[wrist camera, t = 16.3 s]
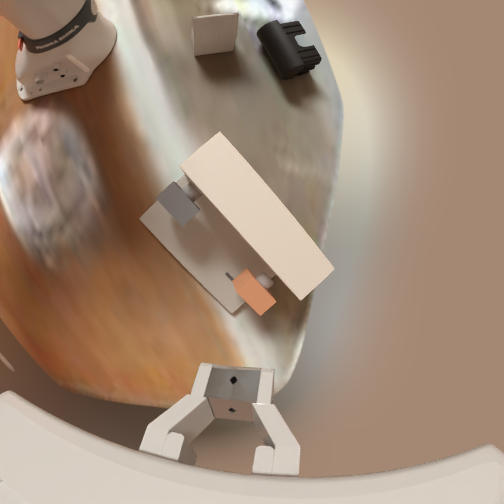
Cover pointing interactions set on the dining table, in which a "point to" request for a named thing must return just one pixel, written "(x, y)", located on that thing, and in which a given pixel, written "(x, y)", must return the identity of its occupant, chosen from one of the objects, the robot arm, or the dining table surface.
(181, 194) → the grey plug
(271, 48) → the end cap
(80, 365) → the dining table surface
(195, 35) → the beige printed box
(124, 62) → the dining table surface
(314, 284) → the plug console
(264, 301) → the orange thick block
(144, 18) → the dining table surface
